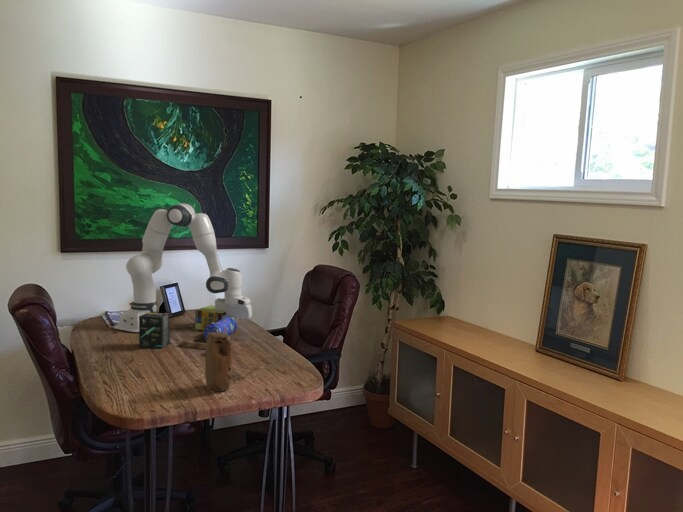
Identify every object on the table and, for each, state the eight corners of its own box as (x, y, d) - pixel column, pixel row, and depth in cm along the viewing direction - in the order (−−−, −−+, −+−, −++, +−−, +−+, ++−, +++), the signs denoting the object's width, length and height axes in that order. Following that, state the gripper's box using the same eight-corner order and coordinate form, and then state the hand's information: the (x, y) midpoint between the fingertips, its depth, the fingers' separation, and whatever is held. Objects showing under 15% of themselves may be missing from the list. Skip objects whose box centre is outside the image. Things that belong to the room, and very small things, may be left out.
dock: (180, 346, 257) (180, 341, 256) (211, 332, 285) (211, 327, 284) (213, 350, 253) (213, 345, 252) (240, 335, 281) (240, 330, 280)
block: (203, 384, 207) (204, 331, 205) (222, 381, 211) (223, 329, 209) (213, 393, 198) (214, 338, 196) (233, 390, 202) (234, 336, 200)
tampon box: (170, 343, 261) (170, 313, 259) (162, 349, 252) (162, 317, 250) (147, 342, 262) (147, 311, 260) (138, 347, 253) (138, 315, 251)
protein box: (210, 304, 303) (195, 309, 288) (236, 307, 299) (222, 312, 284) (209, 323, 304) (194, 329, 289) (235, 326, 300) (221, 332, 285)
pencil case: (218, 344, 263) (218, 324, 262) (201, 342, 265) (201, 322, 264) (237, 333, 285) (238, 315, 284) (222, 332, 287) (222, 314, 286)
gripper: (212, 298, 288) (211, 325, 289) (248, 302, 283) (248, 328, 284) (218, 296, 294) (217, 322, 296) (253, 300, 289) (253, 326, 290)
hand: (232, 325), depth 290 cm, fingers closed
